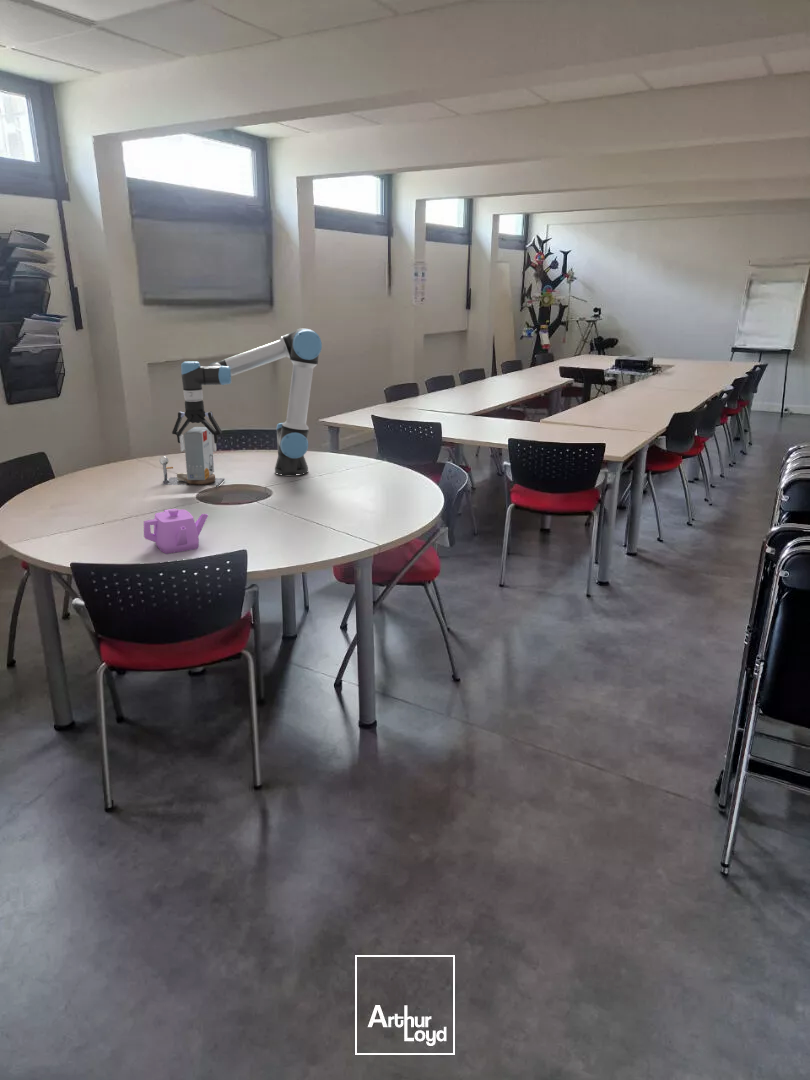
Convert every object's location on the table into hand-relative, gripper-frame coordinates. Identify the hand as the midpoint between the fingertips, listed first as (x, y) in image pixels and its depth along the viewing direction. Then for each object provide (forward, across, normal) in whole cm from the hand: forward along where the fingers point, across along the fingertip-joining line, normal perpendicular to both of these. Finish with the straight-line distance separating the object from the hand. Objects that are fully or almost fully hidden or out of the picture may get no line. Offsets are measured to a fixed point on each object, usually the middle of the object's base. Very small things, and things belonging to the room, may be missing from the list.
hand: (198, 450), depth 298 cm
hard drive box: (+11, 0, 0) cm, 11 cm away
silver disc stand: (+13, -15, -2) cm, 20 cm away
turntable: (+13, -2, 0) cm, 13 cm away
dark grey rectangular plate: (+15, -4, 0) cm, 15 cm away
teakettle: (+15, +14, -75) cm, 77 cm away
